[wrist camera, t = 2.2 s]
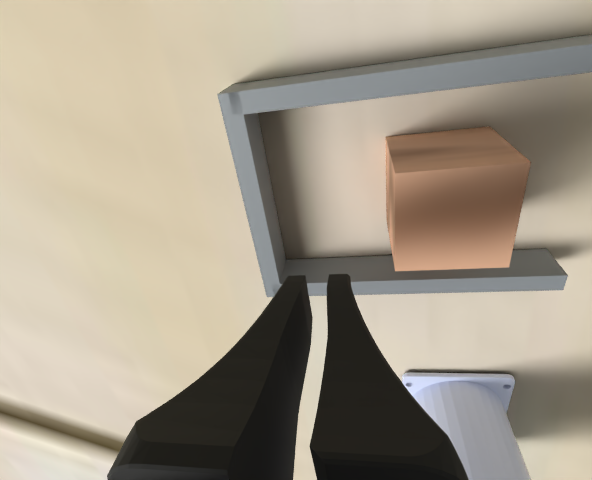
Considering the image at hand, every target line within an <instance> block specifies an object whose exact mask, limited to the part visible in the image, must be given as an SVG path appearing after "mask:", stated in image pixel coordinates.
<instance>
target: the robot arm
mask: <svg viewBox="0 0 592 480" xmlns="http://www.w3.org/2000/svg"><path fill="white" fill-rule="evenodd" d="M327 316H328V340H327V348H326V357H325V364H324V371H323V378H322V385H321V391H320V397H319V403H318V409H317V414H316V419H315V424H314V429H313V433H312V438H311V443H310V450H311V454H312V458H313V463H314V467H315V472H316V476H317V480H531V478H530V475H529V473H528V470H527V467H526V465H525V462H524V459H523V457H522V454H521V451H520V449H519V446H518V444H517V441H516V438H515V436H514V433H513V430H512V428H511V425H510V422H509V420H508V417H507V415H506V414H507V410H508V406H509V403H510V399H511V395H512V392H513V388H514V385H515V379H514V377H513V376H512V375H510V374H474V373H410V372H409V373H405V374H403V376H402V382H401V381H400V379H399V378H398V377H397V375H396V374H395V373H394V371H393V370H392V368H391V367H390V365H389V364H388V362H387V361H386V359H385V358H384V356H383V355H382V353H381V351H380V350H379V348H378V346H377V345H376V343H375V341H374V339H373V338H372V336H371V334H370V332H369V330H368V328H367V326H366V324H365V322H364V320H363V318H362V315H361V313H360V311H359V308H358V306H357V303H356V300H355V297H354V294H353V291H352V287H351V278H350V276H349V275H348V274H329V277H328V282H327ZM311 333H312V312H311V306H310V300H309V294H308V288H307V282H306V276H305V275H295V276H288V277H287V278H286V279H285V281H284V282H283V284H282V285H281V287H280V288H279V290H278V291H277V293H276V294H275V296H274V297H273V299H272V300H271V301H270V303H269V304H268V306H267V307H266V308H265V310H264V311H263V312H262V314H261V315H260V316H259V318H258V319H257V320H256V321H255V323H254V324H253V325H252V326H251V327H250V329H249V330H248V331H247V332H246V333H245V335H244V336H243V337H242V338H241V339H240V340H239V341H238V342H237V343H236V344H235V346H234V347H233V348H232V349H231V350H230V351H229V352H228V353H227V354H226V355H225V356H224V357H223V358H222V359H220V360H219V361H218V362H217V363H216V364H215V365H214V366H213V367H212V368H210V369H209V370H208V371H207V372H206V373H205V374H204V375H202V376H201V377H200V378H199V379H198V380H196V381H195V382H194V383H192V384H191V385H190V386H189V387H187V388H186V389H185V390H183V391H182V392H180V393H179V394H178V395H176V396H175V397H173V398H172V399H171V400H169V401H168V402H166V403H165V404H163V405H162V406H160V407H158V408H157V409H155V410H154V411H152V412H151V413H149V414H148V415H146V416H145V417H143V418H141V419H140V420H138V421H136V423H135V425H134V426H133V428H132V430H131V431H130V433H129V435H128V436H127V438H126V440H125V442H124V444H123V446H122V448H121V450H120V452H119V454H118V456H117V458H116V460H115V462H114V464H113V465H112V467H111V469H110V471H109V473H108V475H107V478H108V480H293V472H294V459H295V445H296V434H297V422H298V413H299V406H300V400H301V394H302V389H303V384H304V378H305V373H306V368H307V362H308V357H309V351H310V345H311Z"/></svg>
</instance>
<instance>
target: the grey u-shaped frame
mask: <svg viewBox="0 0 592 480" xmlns="http://www.w3.org/2000/svg"><path fill="white" fill-rule="evenodd" d="M589 72H592V34H591V35H584V36H577V37H570V38H562V39H555V40H548V41H541V42H534V43H526V44H519V45H512V46H505V47H498V48H490V49H483V50H476V51H469V52H462V53H454V54H447V55H440V56H433V57H425V58H418V59H411V60H404V61H397V62H389V63H382V64H375V65H368V66H361V67H353V68H346V69H339V70H332V71H325V72H317V73H310V74H303V75H296V76H289V77H281V78H274V79H267V80H260V81H253V82H245V83H238V84H232V85H231V86H229V87H228V88H226V89H225V90H223V91H222V92H220V93H219V94H217V95H218V99H219V103H220V107H221V112H222V116H223V120H224V124H225V128H226V132H227V136H228V140H229V144H230V148H231V152H232V156H233V161H234V165H235V169H236V173H237V177H238V181H239V185H240V189H241V193H242V197H243V201H244V206H245V210H246V214H247V218H248V222H249V226H250V230H251V234H252V238H253V242H254V246H255V250H256V255H257V259H258V263H259V267H260V271H261V275H262V279H263V283H264V287H265V291H266V295H267V297H274V296H275V294H276V293H277V291H278V290H279V288H280V287H281V285H282V284H283V282H284V281H285V279H286V278H287V277H288V276H295V275H305V276H306V282H307V288H308V294H309V296H327V282H328V277H329V274H348V275H349V276H350V278H351V287H352V291H353V294H354V295H372V294H415V293H458V292H501V291H544V290H563V289H564V286H565V283H566V280H567V277H568V275H567V274H566V272H565V271H564V270H563V269H562V267H561V266H560V265H559V264H558V262H557V261H556V260H555V259H554V257H553V256H552V255H551V254H550V253H549V251H548V250H547V249H526V250H513V251H512V255H511V260H510V265H509V267H506V268H477V269H448V270H419V271H395V268H394V262H393V256H392V255H386V256H362V257H339V258H315V259H292V260H286V257H285V252H284V246H283V241H282V236H281V231H280V226H279V221H278V215H277V210H276V205H275V200H274V195H273V190H272V185H271V179H270V174H269V169H268V164H267V159H266V154H265V148H264V143H263V138H262V133H261V128H260V123H259V118H258V113H260V112H269V111H277V110H285V109H293V108H301V107H310V106H318V105H326V104H334V103H343V102H351V101H359V100H367V99H375V98H384V97H392V96H400V95H408V94H417V93H425V92H433V91H441V90H449V89H458V88H466V87H474V86H482V85H491V84H499V83H507V82H515V81H523V80H532V79H540V78H548V77H556V76H564V75H573V74H581V73H589Z"/></svg>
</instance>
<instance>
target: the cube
mask: <svg viewBox="0 0 592 480" xmlns="http://www.w3.org/2000/svg"><path fill="white" fill-rule="evenodd" d="M530 164H531V162H530V161H529V160H528V159H527V158H526V157H524V156H523V155H522V154H521V153H520V152H519V151H517V150H516V149H515V148H514V147H513V146H512V145H511V144H509V143H508V142H507V141H506V140H505V139H504V138H503V137H501V136H500V135H499V134H498V133H497V132H496V131H494V130H493V129H492V128H491V127H490V126H488V127H478V128H468V129H458V130H449V131H439V132H429V133H419V134H409V135H399V136H389V137H386V205H387V225H388V231H389V237H390V243H391V250H392V256H393V262H394V268H395V271H419V270H448V269H477V268H506V267H509V265H510V260H511V255H512V251H513V246H514V241H515V236H516V232H517V227H518V222H519V217H520V212H521V208H522V203H523V198H524V193H525V188H526V184H527V179H528V174H529V169H530Z"/></svg>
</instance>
